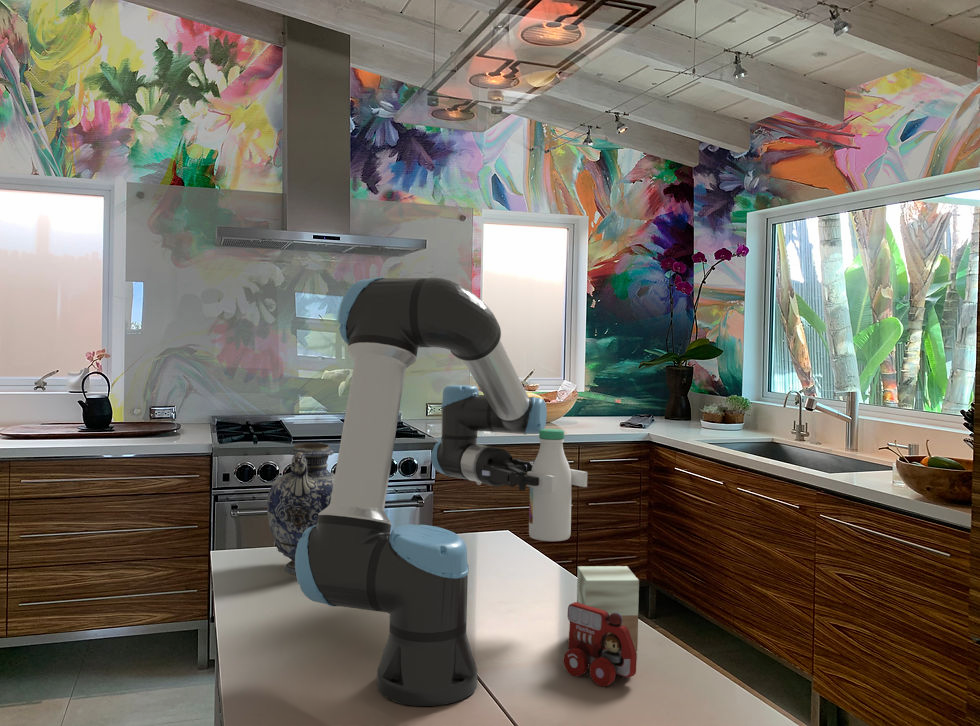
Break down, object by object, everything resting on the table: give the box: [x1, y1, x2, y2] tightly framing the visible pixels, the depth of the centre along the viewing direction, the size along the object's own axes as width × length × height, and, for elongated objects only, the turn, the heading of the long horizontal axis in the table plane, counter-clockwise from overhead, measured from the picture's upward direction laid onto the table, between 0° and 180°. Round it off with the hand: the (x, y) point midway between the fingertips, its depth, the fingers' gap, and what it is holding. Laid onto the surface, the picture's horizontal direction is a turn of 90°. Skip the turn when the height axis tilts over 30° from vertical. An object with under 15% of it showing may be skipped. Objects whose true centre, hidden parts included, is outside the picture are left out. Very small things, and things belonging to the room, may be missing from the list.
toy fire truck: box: [563, 601, 638, 687], centre depth 128 cm, size 7×12×10 cm, turn 47°
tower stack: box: [576, 565, 640, 651], centre depth 142 cm, size 8×9×12 cm
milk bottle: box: [528, 428, 572, 542], centre depth 151 cm, size 8×8×20 cm
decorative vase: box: [266, 442, 335, 575], centre depth 183 cm, size 21×19×28 cm
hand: (569, 481), depth 147 cm, fingers closed on milk bottle, 8 cm apart
